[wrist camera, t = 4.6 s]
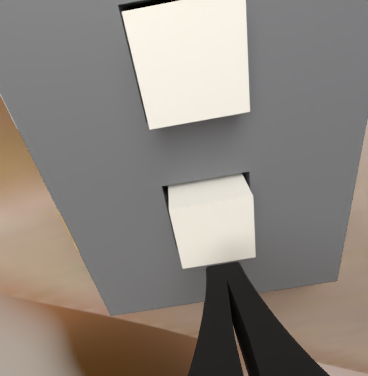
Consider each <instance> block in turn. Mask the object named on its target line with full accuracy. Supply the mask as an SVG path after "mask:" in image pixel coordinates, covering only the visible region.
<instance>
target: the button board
mask: <svg viewBox="0 0 368 376" xmlns="http://www.w3.org/2000/svg"><path fill="white" fill-rule="evenodd" d="M156 1H161V0H0V95H1V98H2V100H3V102H4V104H5V106H6V108H7V110H8V112H9V114H10V116H11V118H12V120H13V122H14V124H15V126H16V128H17V129H18V130H19V132H20V134H21V136H22V138H23V140H24V142H25V144H26V146H27V148H28V150H29V152H30V154H31V156H32V158H33V160H34V162H35V164H36V166H37V168H38V170H39V172H40V174H41V176H42V178H43V180H44V182H45V184H46V186H47V189H48V191H49V193H50V195H51V197H52V199H53V201H54V203H55V205H56V207H57V209H58V212H59V214H60V216H61V218H62V220H63V222H64V224H65V226H66V228H67V230H68V232H69V234H70V236H71V238H72V240H73V242H74V244H75V246H76V248H77V250H78V252H79V253H80V255H81V257H82V259H83V261H84V263H85V265H86V267H87V269H88V271H89V273H90V275H91V277H92V279H93V281H94V283H95V285H96V287H97V289H98V291H99V293H100V295H101V297H102V299H103V301H104V303H105V305H106V307H107V309H108V311H109V313H110V315H111V316H114V315H121V314H127V313H134V312H140V311H146V310H153V309H159V308H166V307H172V306H179V305H185V304H192V303H198V302H205V294H206V268H207V267H208V266H213V265H219V264H225V263H231V262H239V263H240V264H241V266H242V268H243V270H244V272H245V274H246V275H247V277H248V279H249V280H250V282H251V283H252V285H253V287H254V288H255V290H256V291H257V293H263V292H269V291H276V290H282V289H289V288H295V287H301V286H308V285H314V284H321V283H327V282H334V281H337V279H338V273H339V268H340V263H341V257H342V252H343V247H344V241H345V236H346V231H347V225H348V220H349V215H350V209H351V204H352V199H353V193H354V188H355V183H356V177H357V172H358V167H359V161H360V156H361V151H362V145H363V140H364V135H365V129H366V124H367V119H368V0H246V19H247V45H248V71H249V97H250V112H246V113H241V114H235V115H230V116H224V117H218V118H213V119H207V120H202V121H196V122H190V123H185V124H179V125H173V126H168V127H162V128H157V129H151V130H150V129H149V125H148V121H147V117H146V112H145V108H144V104H143V100H142V96H141V91H140V87H139V83H138V79H137V75H136V70H135V66H134V62H133V58H132V54H131V49H130V45H129V41H128V37H127V33H126V28H125V24H124V20H123V16H122V11H127V9H126V7H130V6H135V5H140V4H145V3H150V2H156ZM237 173H242V174H243V176H244V178H245V180H246V182H247V184H248V186H249V189H250V191H251V193H252V195H253V201H254V227H255V253H256V257H254V258H248V259H242V260H235V261H229V262H223V263H216V264H210V265H204V266H198V267H191V268H185V269H183V268H182V264H181V260H180V255H179V251H178V247H177V243H176V239H175V234H174V230H173V226H172V222H171V218H170V213H169V195H168V189H167V185H173V184H179V183H185V182H190V181H196V180H202V179H208V178H214V177H220V176H226V175H232V174H237Z"/></svg>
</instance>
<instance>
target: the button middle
mask: <svg viewBox="0 0 368 376" xmlns="http://www.w3.org/2000/svg"><path fill="white" fill-rule="evenodd" d="M122 16H123V20H124V24H125V28H126V33H127V37H128V41H129V45H130V49H131V54H132V58H133V62H134V66H135V70H136V75H137V79H138V83H139V87H140V91H141V96H142V100H143V104H144V108H145V112H146V117H147V121H148V125H149V129H150V130H151V129H157V128H162V127H168V126H173V125H179V124H185V123H190V122H196V121H202V120H207V119H213V118H218V117H224V116H230V115H235V114H241V113H246V112H250V97H249V71H248V45H247V19H246V0H179V1H174V2H169V3H164V4H158V5H153V6H148V7H143V8H138V9H133V10H127V11H122Z"/></svg>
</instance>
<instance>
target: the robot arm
mask: <svg viewBox="0 0 368 376" xmlns="http://www.w3.org/2000/svg"><path fill="white" fill-rule="evenodd" d="M232 323H233V324H232ZM233 326H234V329H235V333H236V336H237V339H238V343H239V346H240V349H241V352H242V356H243V359H244V362H245V365H246V369H247V372H248V375H249V376H330V375H328V374H327V373H326V372H325V371H324V370H323V369H322V368H321V367H320V366H319V365H318V364H317V363H316V362H315V361H314V360H313V359H312V358H311V357H310V356H309V355H308V354H307V352H306V351H305V350H304V349H303V348H302V347H301V346H300V345H299V344H298V343H297V342H296V341H295V339H294V338H293V337H292V336H291V335H290V334H289V333H288V331H287V330H286V329H285V328H284V327H283V325H282V324H281V323H280V322H279V321H278V319H277V318H276V317H275V316H274V314H273V313H272V312H271V310H270V309H269V308H268V306H267V305H266V304H265V302H264V301H263V300H262V298H261V297H260V295H259V294H258V293H257V291H256V290H255V288H254V287H253V285H252V283H251V282H250V280H249V279H248V277H247V275H246V274H245V272H244V270H243V268H242V266H241V264H240V263H239V262H231V263H225V264H219V265H213V266H208V267H207V268H206V294H205V302H204V309H203V316H202V321H201V326H200V331H199V336H198V340H197V345H196V349H195V352H194V356H193V360H192V363H191V367H190V370H189V374H188V376H243V371H242V367H241V363H240V359H239V354H238V350H237V346H236V341H235V336H234V330H233Z"/></svg>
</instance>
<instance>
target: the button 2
mask: <svg viewBox="0 0 368 376" xmlns="http://www.w3.org/2000/svg"><path fill="white" fill-rule="evenodd" d="M168 195H169V213H170V218H171V222H172V226H173V230H174V234H175V239H176V243H177V247H178V251H179V255H180V260H181V264H182V268H183V269H185V268H191V267H198V266H204V265H210V264H216V263H223V262H229V261H235V260H242V259H248V258H254V257H256V253H255V227H254V201H253V195H252V193H251V191H250V189H249V186H248V184H247V182H246V180H245V178H244V176H243V174H242V173H237V174H232V175H226V176H220V177H214V178H208V179H202V180H196V181H190V182H185V183H179V184H173V185H168Z"/></svg>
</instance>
